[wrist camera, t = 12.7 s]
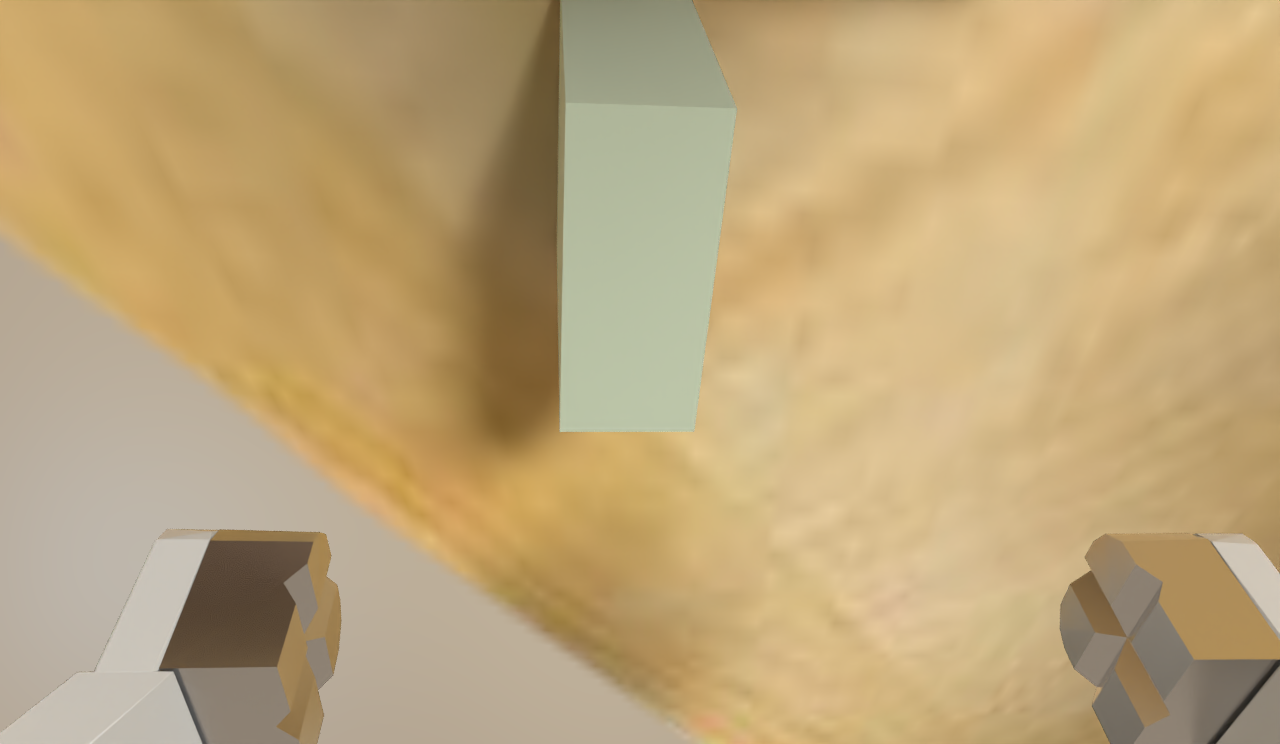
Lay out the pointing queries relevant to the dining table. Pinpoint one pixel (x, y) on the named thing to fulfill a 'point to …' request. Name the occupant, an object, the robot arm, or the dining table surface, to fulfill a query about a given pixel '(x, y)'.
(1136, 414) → the dining table surface
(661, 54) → the pale green brick
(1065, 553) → the dining table surface
